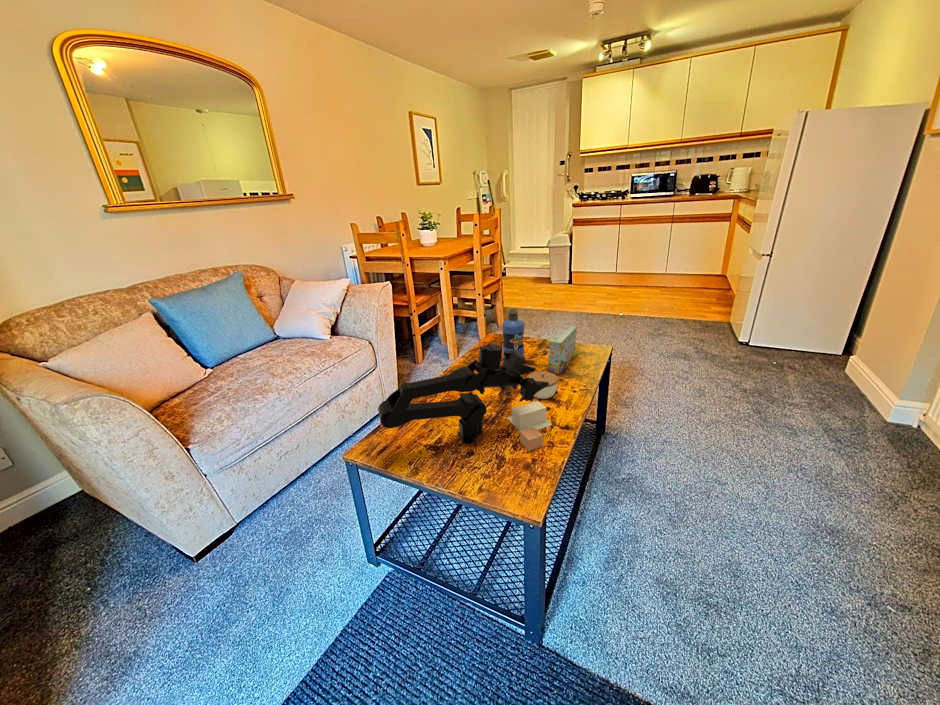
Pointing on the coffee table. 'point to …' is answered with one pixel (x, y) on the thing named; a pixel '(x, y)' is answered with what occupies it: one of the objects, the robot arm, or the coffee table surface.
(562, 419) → the coffee table surface
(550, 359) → the snack box
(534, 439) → the top brick
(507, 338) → the water bottle
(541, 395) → the lidded jar
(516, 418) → the bottom brick
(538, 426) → the baseplate
